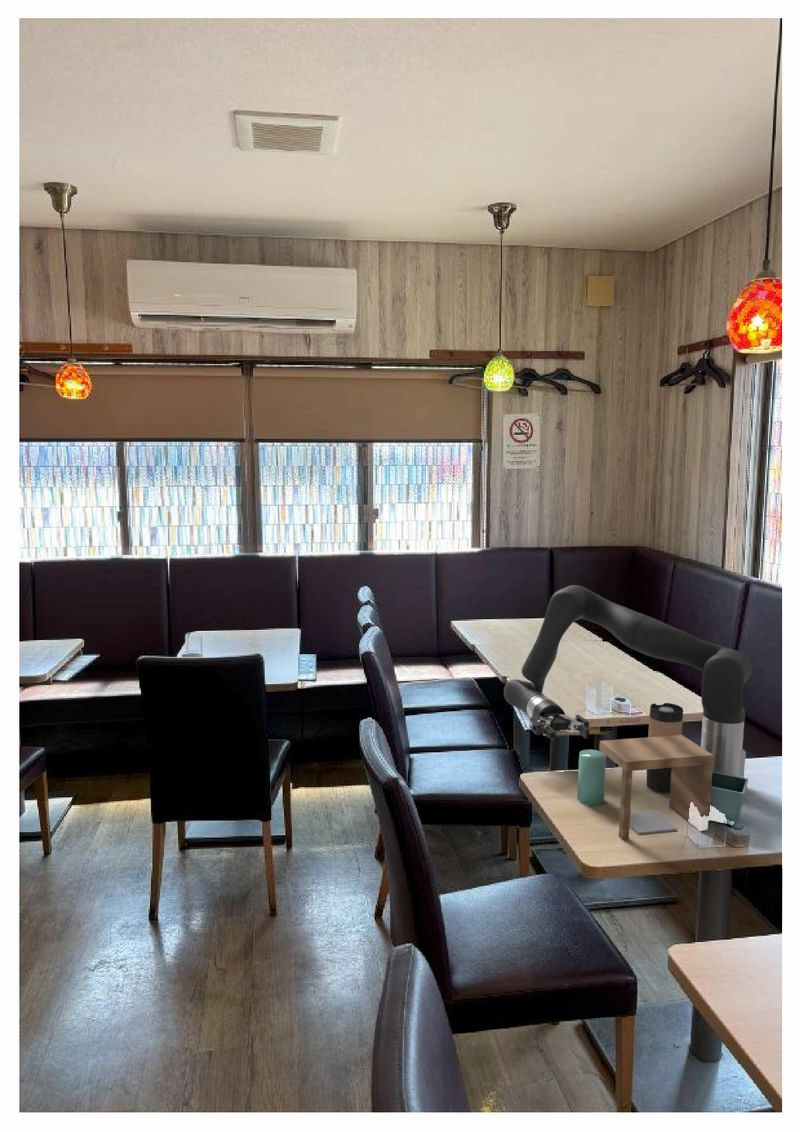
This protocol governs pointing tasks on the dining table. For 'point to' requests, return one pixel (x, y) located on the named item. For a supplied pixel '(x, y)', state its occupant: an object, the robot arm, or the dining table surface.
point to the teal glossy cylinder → (591, 777)
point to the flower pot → (728, 794)
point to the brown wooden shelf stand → (664, 752)
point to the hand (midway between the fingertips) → (571, 735)
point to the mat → (649, 822)
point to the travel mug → (663, 724)
